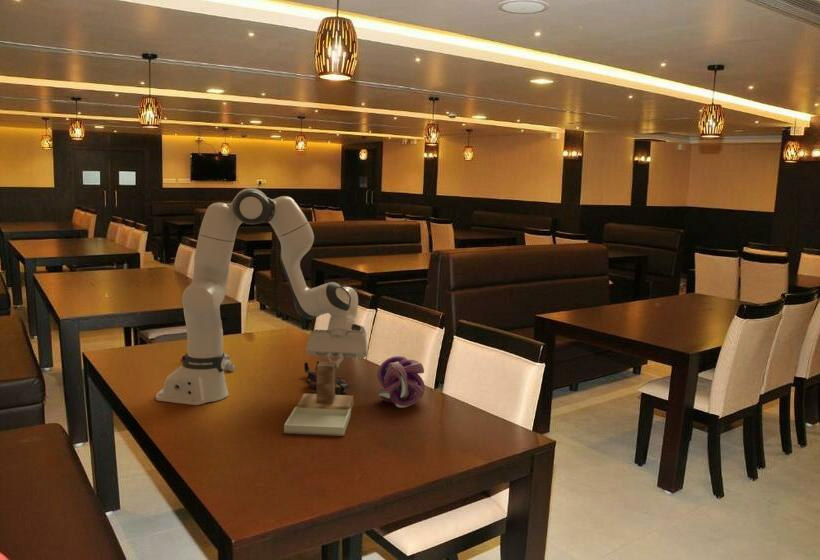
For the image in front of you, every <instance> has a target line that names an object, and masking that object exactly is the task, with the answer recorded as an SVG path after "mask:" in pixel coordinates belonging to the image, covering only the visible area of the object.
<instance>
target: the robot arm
mask: <svg viewBox="0 0 820 560" xmlns="http://www.w3.org/2000/svg"><path fill="white" fill-rule="evenodd" d="M201 221H202V222H201V225H200V228H199V232H198V237H197V242H196V247H195V253H194V256H193V273H192V274H193V275H192V280H191V283H190V284H189V285H188V286H187V287H186V288H185V289H184V291H183V292H182V293H183V294H182V296H181V297H182V298H181V304H182V308H183V316H184V320H185V327H186V340H187V341H186V342H187V343H186V344H187V350H186V351H187V352H185V353H184V355H182V356H181V357H180V358H179V360H180V361H179V363H182V365H180V366H179V367H178V368H176V369H175V370H173V372H171V373H170V374H169V375H167V377H166V378H165V381H164V383H163V388H162V389H160V390H159V391H158V392H157V393H156V395H155V400H156V401H158V402H159V401H160V402H165V403H166V402H168V403H174V404H182V405H184V404H185V405H189V406H199V405H203V404H206V403H210V402H218V401H220V400H223V399H225V398H227V397H228V396H229V390H228V387H227V384H226V377H225V371H224V369H225V357H224V353H225V352H224V330H223V326H222V319H221V309H220V308H221V304H222V303H223V301H224V299H225V297H226V291H227V285H228V281H229V280H228V279H229V273H230V272H229V269H230V266H231V265H230V264H231V259H232V255H233V251H234V250H233V249H234V245H235V242H236V235H237V233H238V229H239V227H240V226H241V224H246V225H258V224H264V223H268V224H270V226H271V227H272V229H273V230H274V233H275V235H276V237H277V239H278V240H279V242H280V250H281V251H280V252H279V259H280V263H281V264H280V265H281V267H282V270H283V273H284V276H285V278H286V281H287V283H288V286H289V288H290V292H291V295H292V297H293V298H292V300H293V304H294V307H295V308H294V309H295V310H296V312H297V314H298V315H299V316H300V317H301V318H303V319H306V320H313V319H315V318H318V317H320V316H322V315H326V314H329V316H330V318H329V320H328V326H327V329H314V330H312V331H310V332H309V336H308V341H307V344H306V348H305V349H306V353H307V354H308V355H309V356H316V357H317V356H318V357H321V356H322V357H327V358H328V362H336V364H335V369H338V368H339V366H340V364H341V362H343V360H344V358H357V359H365V358H366V357H367V356H368V342H367V331H366V329H365V326H363V325H360V324H357V323H356V321H355V319H356V318H357V315H358V310H359V309H358V307H359V296H358V293H357V291H356V290H355V289H354V288H352V287H350V286H342V285H340V283H338V282H335V281H331V282H327V283H324V284H320V285H318V286H315V287H312V288H310V287H308V286H307V284H306V280H305V278H304V275H303V271H302V269H301V261H302V259H303V257H304V256H305V255H306V254H307V253H308V252H309V251H310V250H311V248H312V247H313V244H314V241H315V234H314V231H313V228H312V226H311V225H310V222H309V221H308V218H307V217H306V215H305V213H304V211H302V209H301V207H300V206H299V205H298V203H297V202H296V201H295V200H294V198H292V197H290V196H288V195H287V196H286V195H282V196H281V195H280V196H278V197H275V198H270V197H267V194H265V193H264V192H263V191H262V190H260V189H258V188H255V187H247V188H243V189H242V190H240V191H238V193H237V194H236V195H235V196H234V198H233V199H232V200H231V201H229V202H227V203H225V202H219V201H218V202H213V203H212V204H210V205H208V206H207V209H206V211H205V214H204V216H203V219H202V220H201ZM335 357H337V358H338V359H336V360H333V358H335Z"/></svg>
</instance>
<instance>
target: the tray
mask: <svg viewBox="0 0 820 560" xmlns="http://www.w3.org/2000/svg"><path fill="white" fill-rule="evenodd" d="M351 415H352V410H351V409H349V410H344V409H322V408H300V407H298V405H297V406H294V408H293V410H292V411H291V413H290V415H289V416H288V418H287V419H286V421H285V423H284V425H283V434H292V435H295V434H296V435H311V436H312V435H313V436H333V437H335V436H338V437H344V436H345V435H346V434H345V433H346V431H347V427H348V425H349V423H350V420H351Z"/></svg>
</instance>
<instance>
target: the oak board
mask: <svg viewBox="0 0 820 560" xmlns="http://www.w3.org/2000/svg"><path fill="white" fill-rule="evenodd" d="M316 395H317V393H304V394H303V395H302V397H301V398H300V400H299V401H298V403H297V407H300V408H322V409H344V410H349V409H351V411H352V409H353V406H354V395H347V394H346V395H345V394H340V395H337V394H335V399H334V402H333V404H323V403H316Z"/></svg>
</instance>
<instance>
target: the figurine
mask: <svg viewBox="0 0 820 560" xmlns="http://www.w3.org/2000/svg"><path fill="white" fill-rule="evenodd" d="M319 362H320V360H319V361H316V366H315V371H313V370H310V367H309V365H308V364H309V363H308V362H304V363H303V364H304V372H305V373H306V374H307V377H306V384H309V385H310V386H311V387H312V388H314V390H315V391H316V392H317V365H318V363H319ZM349 388H350V386H349V384H348V382H347V381H346V380H344V379H343V378H342V375H341V376H340V375H337V378H335V395H341V394H342V393H344V392H346V391H347V390H348V389H349Z"/></svg>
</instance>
